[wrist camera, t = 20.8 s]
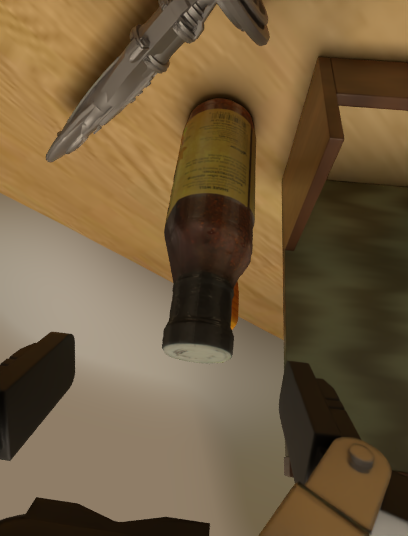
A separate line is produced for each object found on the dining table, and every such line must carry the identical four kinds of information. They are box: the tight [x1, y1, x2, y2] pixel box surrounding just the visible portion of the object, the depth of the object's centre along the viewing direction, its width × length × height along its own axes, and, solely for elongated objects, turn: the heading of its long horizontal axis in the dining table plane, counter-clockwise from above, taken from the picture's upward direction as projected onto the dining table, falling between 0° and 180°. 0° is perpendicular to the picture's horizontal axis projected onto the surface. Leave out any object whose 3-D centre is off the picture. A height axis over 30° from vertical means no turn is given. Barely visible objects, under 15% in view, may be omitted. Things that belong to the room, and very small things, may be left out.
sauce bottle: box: [162, 98, 256, 363], centre depth 22 cm, size 7×6×20 cm
